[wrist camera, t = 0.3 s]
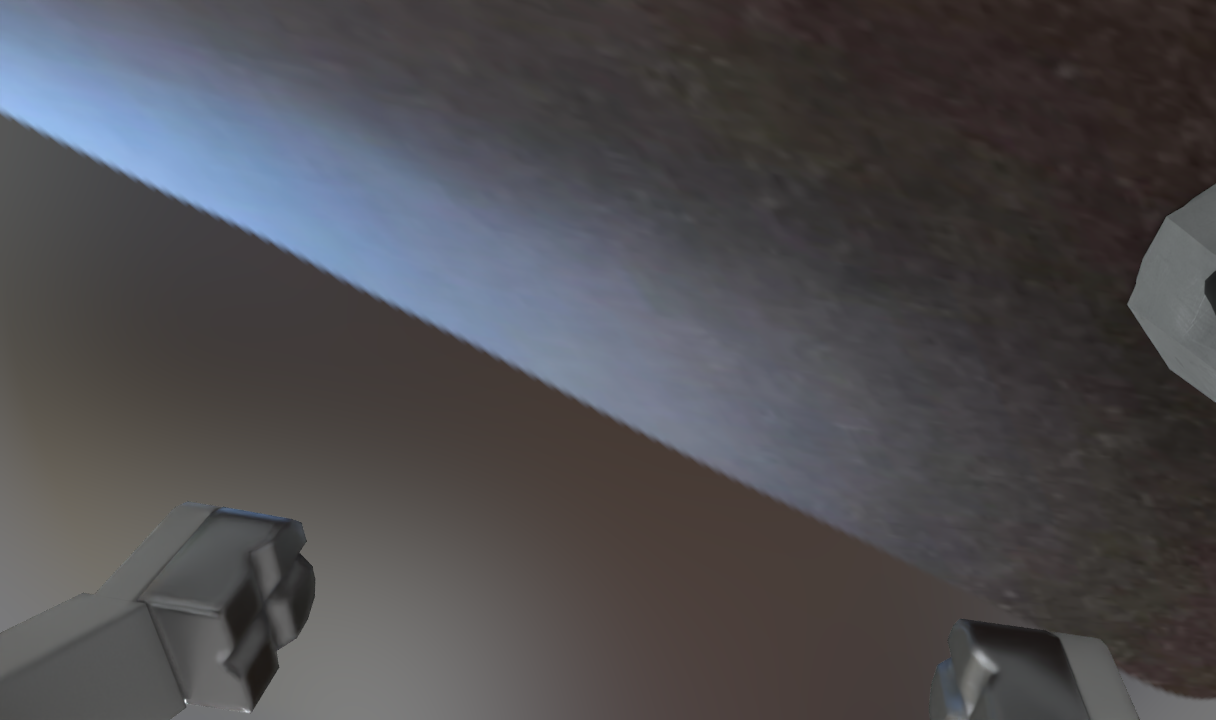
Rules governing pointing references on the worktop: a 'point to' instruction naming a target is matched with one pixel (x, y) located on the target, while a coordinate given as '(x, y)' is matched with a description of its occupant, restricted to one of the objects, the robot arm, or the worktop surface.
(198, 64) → the worktop surface
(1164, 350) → the coffeepot
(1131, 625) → the worktop surface
